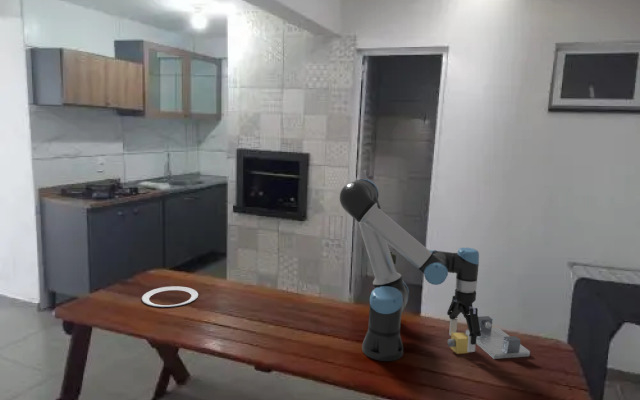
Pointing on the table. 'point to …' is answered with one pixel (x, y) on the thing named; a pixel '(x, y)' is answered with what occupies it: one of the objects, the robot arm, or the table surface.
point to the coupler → (458, 342)
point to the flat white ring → (150, 293)
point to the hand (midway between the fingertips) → (461, 342)
